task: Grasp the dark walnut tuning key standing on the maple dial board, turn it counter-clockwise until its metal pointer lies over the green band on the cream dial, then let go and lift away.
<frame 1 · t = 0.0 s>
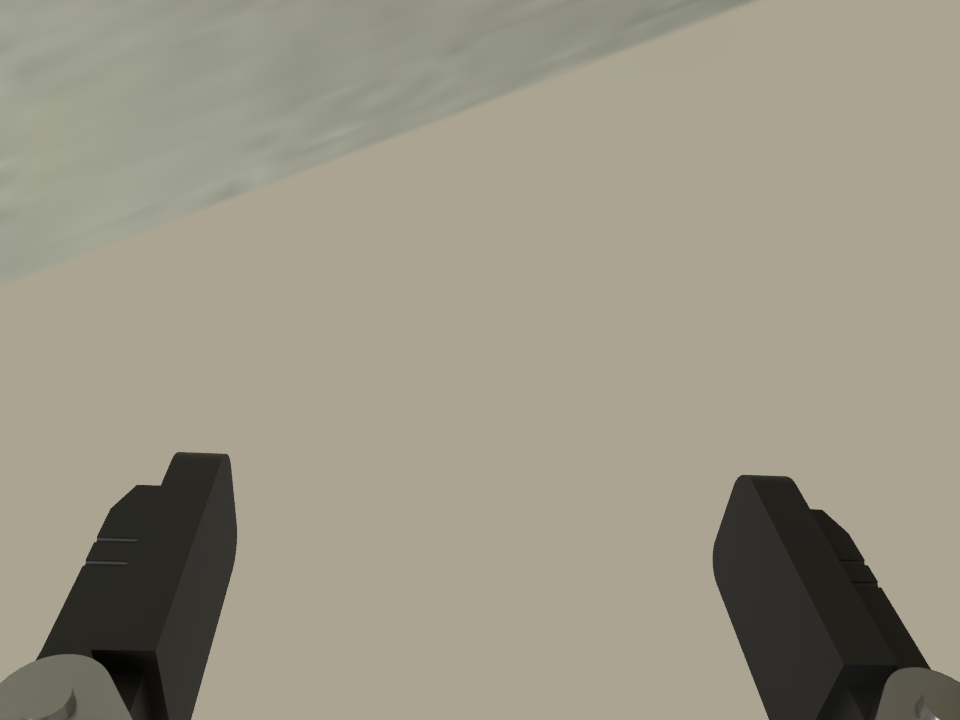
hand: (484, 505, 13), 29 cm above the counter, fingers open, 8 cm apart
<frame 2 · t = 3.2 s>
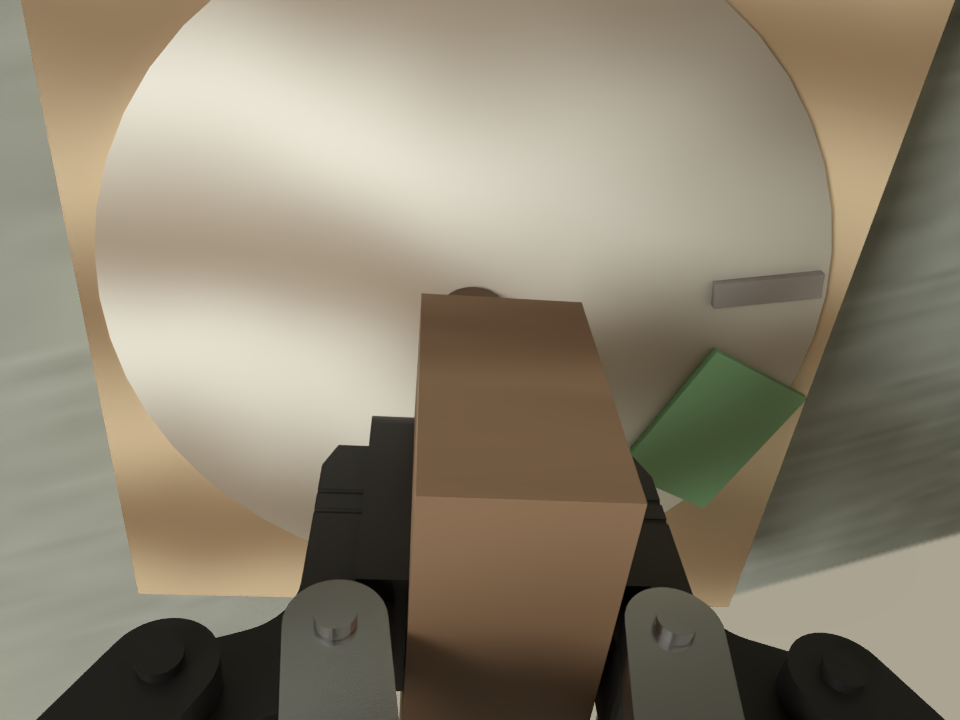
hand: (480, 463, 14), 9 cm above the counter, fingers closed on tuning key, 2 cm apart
tuning key: (471, 544, 15), point 9 cm above the counter, hinge at 0.0°, touching gripper
dial board: (464, 239, 21), on the counter
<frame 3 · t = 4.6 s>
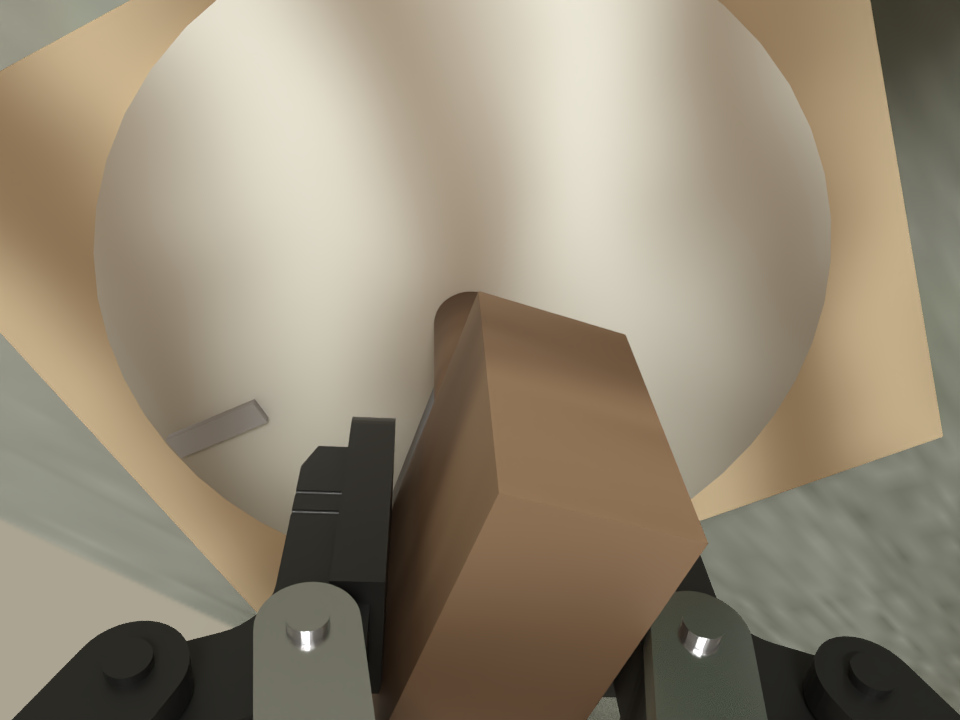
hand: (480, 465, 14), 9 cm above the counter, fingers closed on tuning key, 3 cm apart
tuning key: (440, 546, 15), point 9 cm above the counter, hinge at 46.1°, touching gripper
dial board: (464, 243, 21), on the counter
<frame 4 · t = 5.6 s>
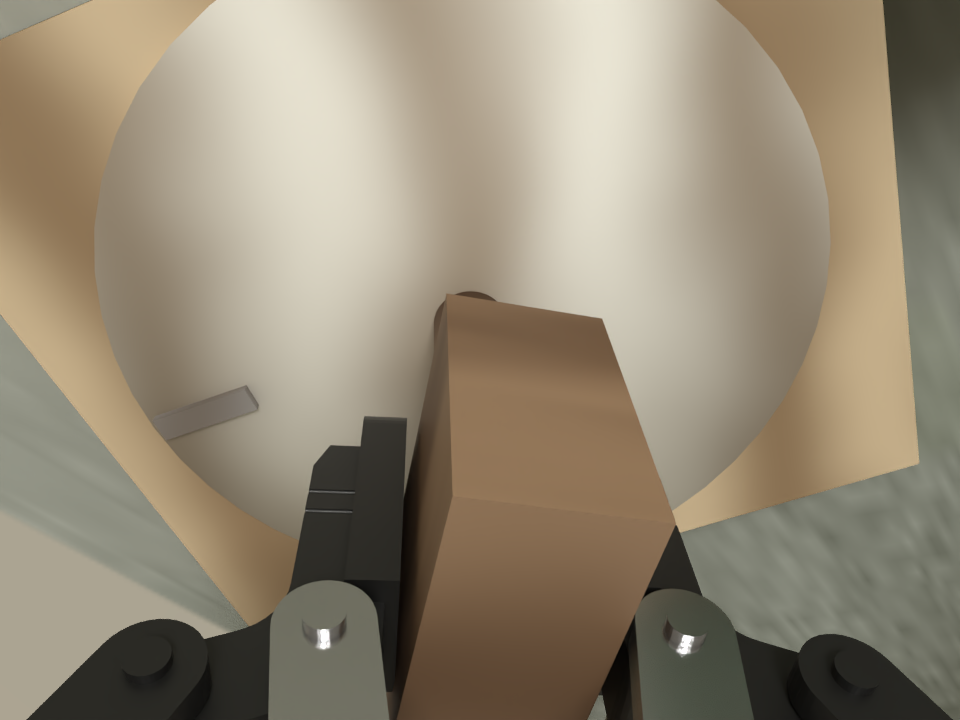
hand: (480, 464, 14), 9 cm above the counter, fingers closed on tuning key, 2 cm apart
tuning key: (456, 548, 15), point 9 cm above the counter, hinge at 58.3°, touching gripper
dial board: (463, 243, 22), on the counter
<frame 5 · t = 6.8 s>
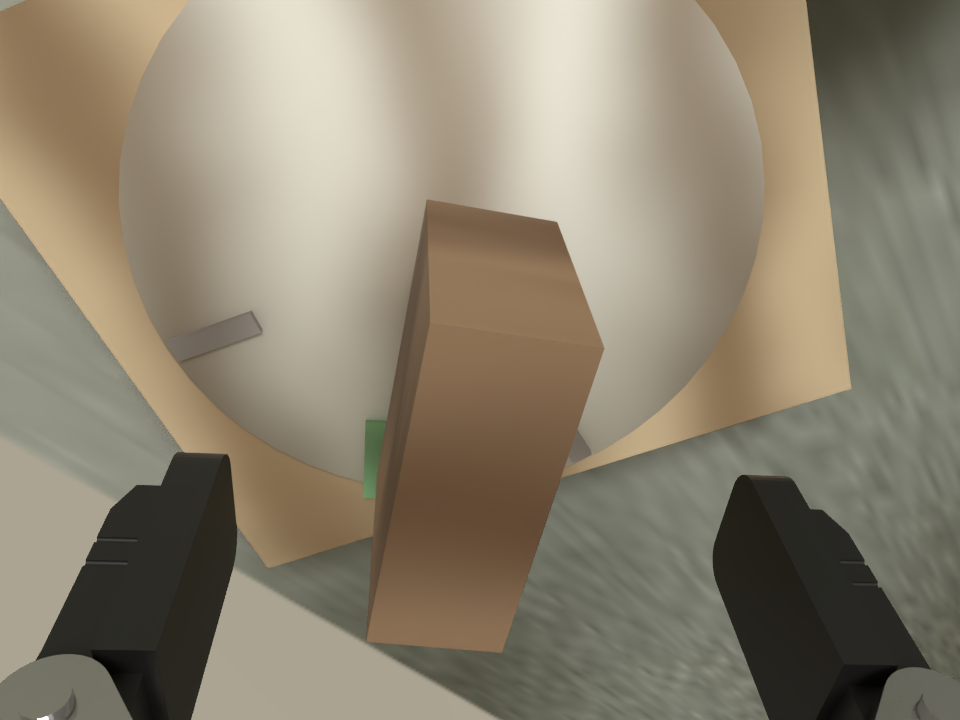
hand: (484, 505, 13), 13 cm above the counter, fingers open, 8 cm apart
tuning key: (439, 436, 17), point 9 cm above the counter, hinge at 58.8°
dial board: (445, 192, 24), on the counter
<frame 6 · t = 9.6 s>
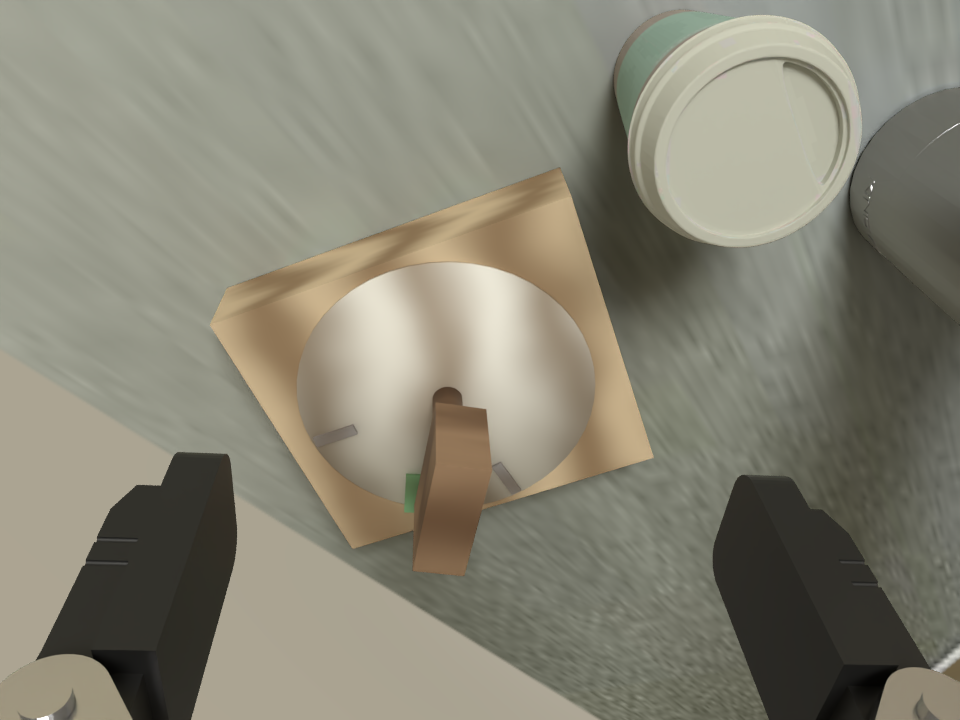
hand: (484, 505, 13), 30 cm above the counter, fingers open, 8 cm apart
tuning key: (441, 488, 40), point 9 cm above the counter, hinge at 58.9°
dial board: (446, 356, 47), on the counter
coffee cup: (672, 72, 39), on the counter
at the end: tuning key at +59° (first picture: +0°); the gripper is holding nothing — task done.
